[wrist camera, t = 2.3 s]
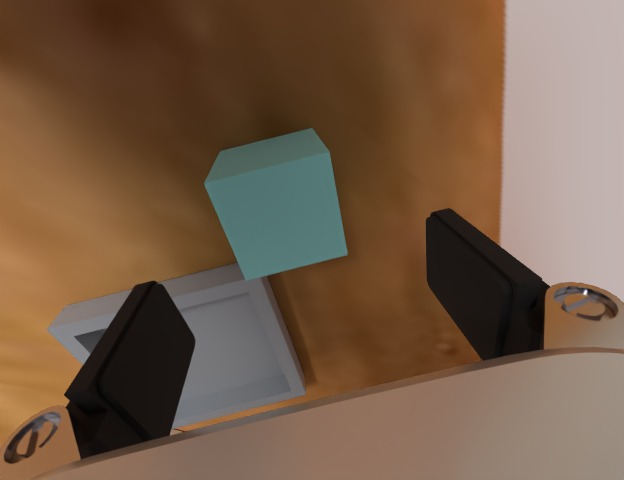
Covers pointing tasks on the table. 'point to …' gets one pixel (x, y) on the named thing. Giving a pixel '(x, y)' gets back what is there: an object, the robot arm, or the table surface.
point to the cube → (278, 203)
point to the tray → (209, 341)
